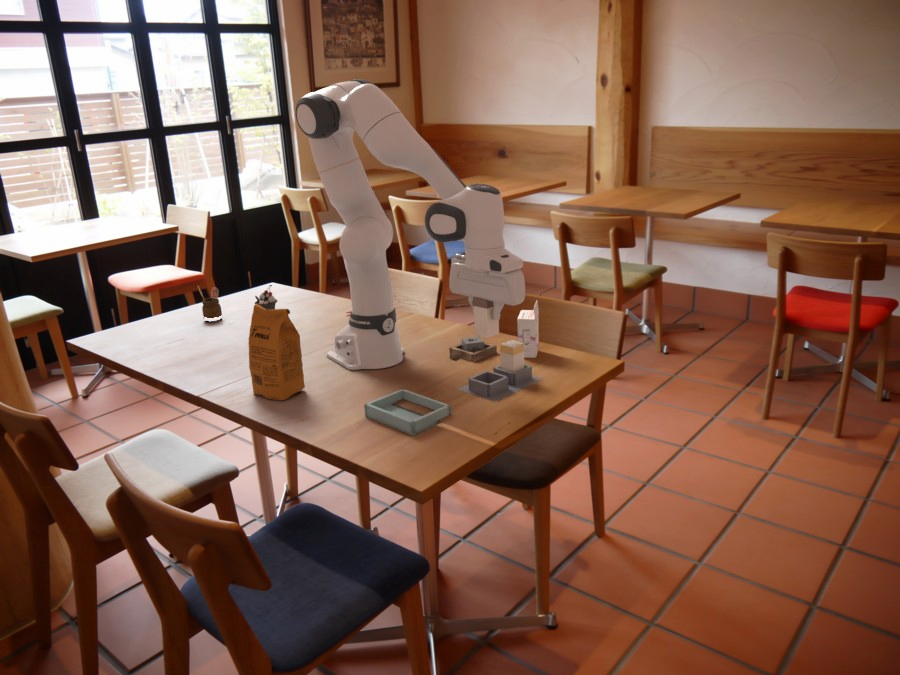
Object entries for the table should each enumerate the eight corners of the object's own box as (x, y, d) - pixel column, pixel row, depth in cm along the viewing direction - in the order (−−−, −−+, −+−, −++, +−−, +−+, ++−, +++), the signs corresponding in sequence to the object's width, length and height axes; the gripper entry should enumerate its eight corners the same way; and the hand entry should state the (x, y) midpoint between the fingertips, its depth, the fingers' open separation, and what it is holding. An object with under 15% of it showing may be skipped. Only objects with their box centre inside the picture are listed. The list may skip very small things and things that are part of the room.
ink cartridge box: (521, 350, 205) (520, 298, 200) (539, 350, 204) (538, 299, 199) (517, 360, 197) (516, 307, 192) (536, 361, 196) (535, 307, 191)
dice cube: (462, 355, 203) (461, 338, 201) (479, 353, 204) (479, 336, 202) (466, 361, 198) (466, 343, 196) (484, 359, 199) (484, 341, 198)
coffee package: (276, 381, 190) (266, 298, 183) (311, 390, 183) (302, 304, 176) (246, 394, 182) (234, 308, 175) (281, 404, 175) (270, 315, 168)
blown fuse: (474, 334, 172) (473, 297, 169) (486, 330, 175) (485, 293, 172) (487, 338, 169) (486, 300, 166) (499, 333, 172) (498, 296, 169)
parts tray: (365, 416, 167) (364, 404, 166) (403, 400, 174) (402, 388, 173) (412, 435, 156) (412, 422, 155) (451, 417, 164) (450, 405, 163)
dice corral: (449, 358, 201) (449, 347, 200) (472, 349, 207) (471, 339, 206) (474, 365, 195) (474, 354, 194) (496, 356, 201) (496, 345, 200)
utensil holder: (222, 321, 244) (217, 286, 240) (202, 323, 242) (196, 288, 239) (223, 316, 249) (218, 282, 245) (203, 318, 248) (198, 283, 244)
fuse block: (457, 393, 177) (456, 377, 176) (505, 371, 189) (505, 356, 188) (495, 405, 169) (495, 389, 168) (543, 382, 181) (543, 367, 180)
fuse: (500, 379, 182) (500, 344, 179) (511, 374, 185) (511, 340, 182) (513, 382, 179) (513, 347, 177) (524, 377, 182) (524, 343, 179)
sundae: (285, 331, 231) (280, 284, 226) (269, 337, 225) (264, 289, 221) (270, 328, 234) (264, 282, 229) (254, 334, 229) (248, 287, 224)
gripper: (442, 255, 171) (444, 312, 175) (510, 266, 157) (511, 328, 162) (460, 250, 175) (462, 306, 180) (529, 261, 162) (529, 321, 166)
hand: (486, 317), depth 171 cm, fingers closed on blown fuse, 4 cm apart
